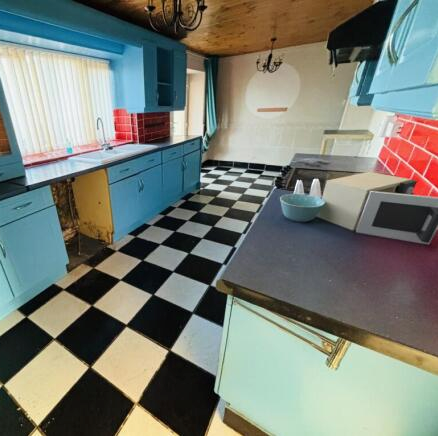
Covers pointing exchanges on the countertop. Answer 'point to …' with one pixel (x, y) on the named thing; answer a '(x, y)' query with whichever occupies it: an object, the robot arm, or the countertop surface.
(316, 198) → the bowl
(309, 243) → the countertop surface
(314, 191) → the shaker set
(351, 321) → the countertop surface
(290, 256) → the countertop surface
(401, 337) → the countertop surface
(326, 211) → the microwave
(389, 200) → the microwave door
